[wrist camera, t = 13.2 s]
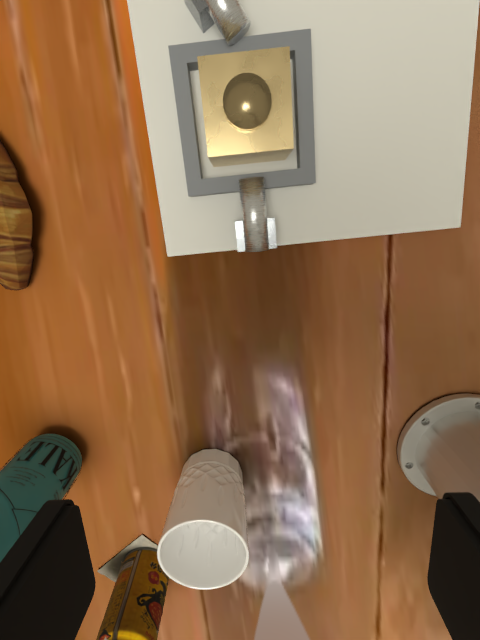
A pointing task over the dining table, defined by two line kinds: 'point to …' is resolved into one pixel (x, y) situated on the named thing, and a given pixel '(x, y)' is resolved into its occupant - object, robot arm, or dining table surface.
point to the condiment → (134, 593)
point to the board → (318, 118)
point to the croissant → (14, 228)
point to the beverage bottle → (34, 483)
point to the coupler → (247, 106)
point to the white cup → (206, 523)
